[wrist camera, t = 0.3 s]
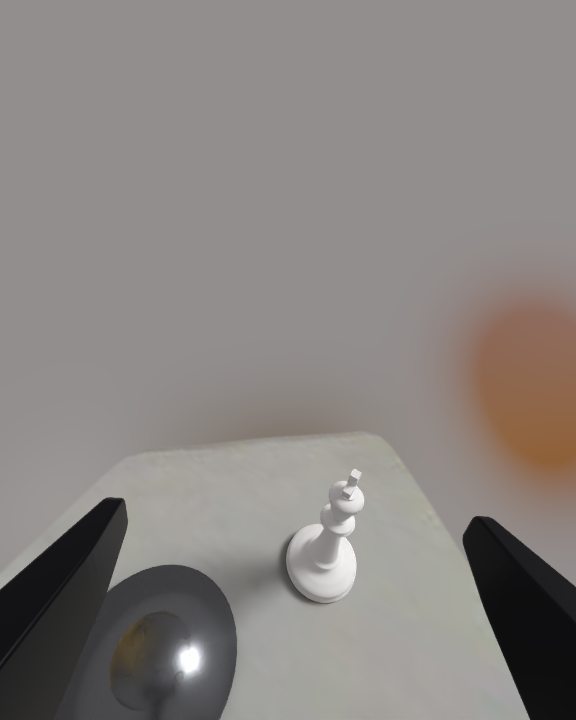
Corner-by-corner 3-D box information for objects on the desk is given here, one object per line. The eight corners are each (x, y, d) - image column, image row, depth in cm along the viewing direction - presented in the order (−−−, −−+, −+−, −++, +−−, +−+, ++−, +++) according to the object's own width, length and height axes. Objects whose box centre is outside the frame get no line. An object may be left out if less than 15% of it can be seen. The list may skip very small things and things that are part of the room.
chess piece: (272, 572, 22) (292, 482, 16) (306, 515, 26) (333, 426, 20) (338, 621, 20) (386, 540, 15) (365, 552, 24) (412, 466, 18)
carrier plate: (228, 790, 15) (228, 789, 14) (8, 806, 14) (3, 805, 13) (241, 569, 22) (242, 565, 22) (100, 568, 21) (98, 564, 21)
